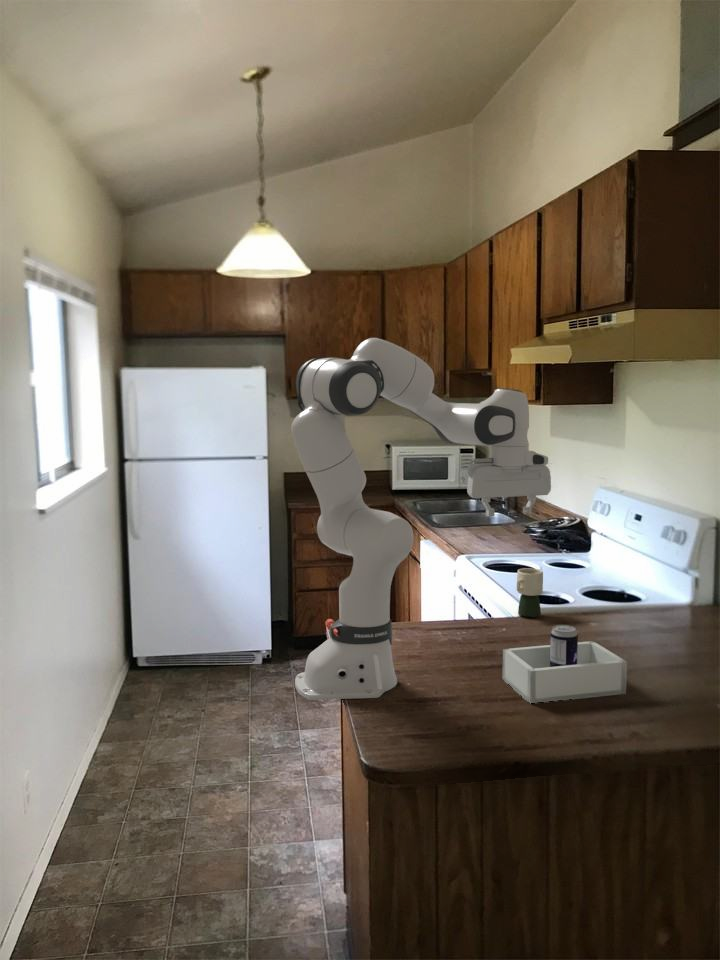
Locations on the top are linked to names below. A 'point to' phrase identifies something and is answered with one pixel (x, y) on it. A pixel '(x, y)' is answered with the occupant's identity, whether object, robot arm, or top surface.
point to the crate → (564, 673)
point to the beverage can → (563, 646)
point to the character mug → (529, 591)
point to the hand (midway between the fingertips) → (508, 515)
